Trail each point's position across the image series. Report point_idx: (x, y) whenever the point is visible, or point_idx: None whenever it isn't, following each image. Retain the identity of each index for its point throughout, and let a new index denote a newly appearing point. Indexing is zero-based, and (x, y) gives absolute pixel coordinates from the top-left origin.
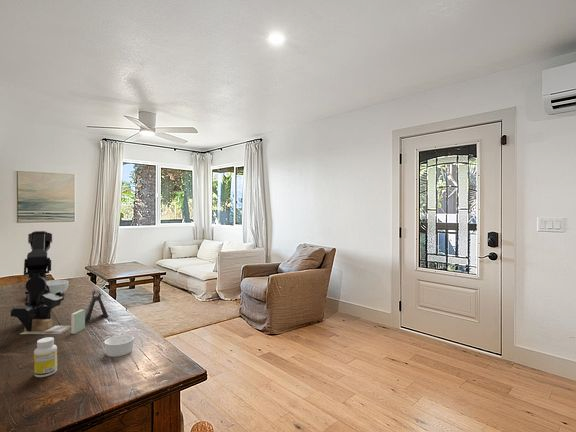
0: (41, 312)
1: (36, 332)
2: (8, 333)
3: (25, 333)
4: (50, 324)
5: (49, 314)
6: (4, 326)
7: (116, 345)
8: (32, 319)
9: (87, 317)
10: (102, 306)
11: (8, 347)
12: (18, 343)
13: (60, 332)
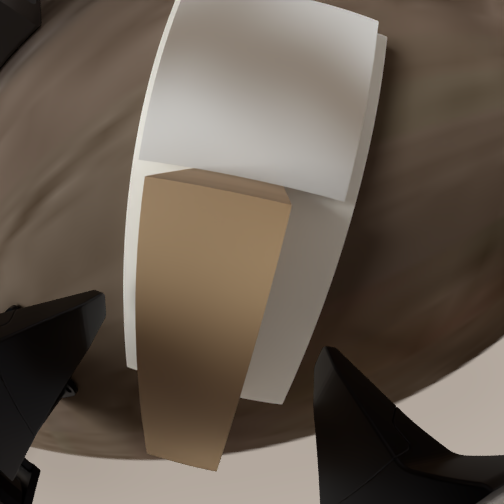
0: (34, 414)
1: (283, 298)
2: None
3: (287, 373)
4: (227, 179)
5: (11, 315)
6: (120, 459)
7: None
8: (387, 444)
9: (19, 6)
10: None
11: (492, 333)
12: (461, 317)
13: (372, 28)
